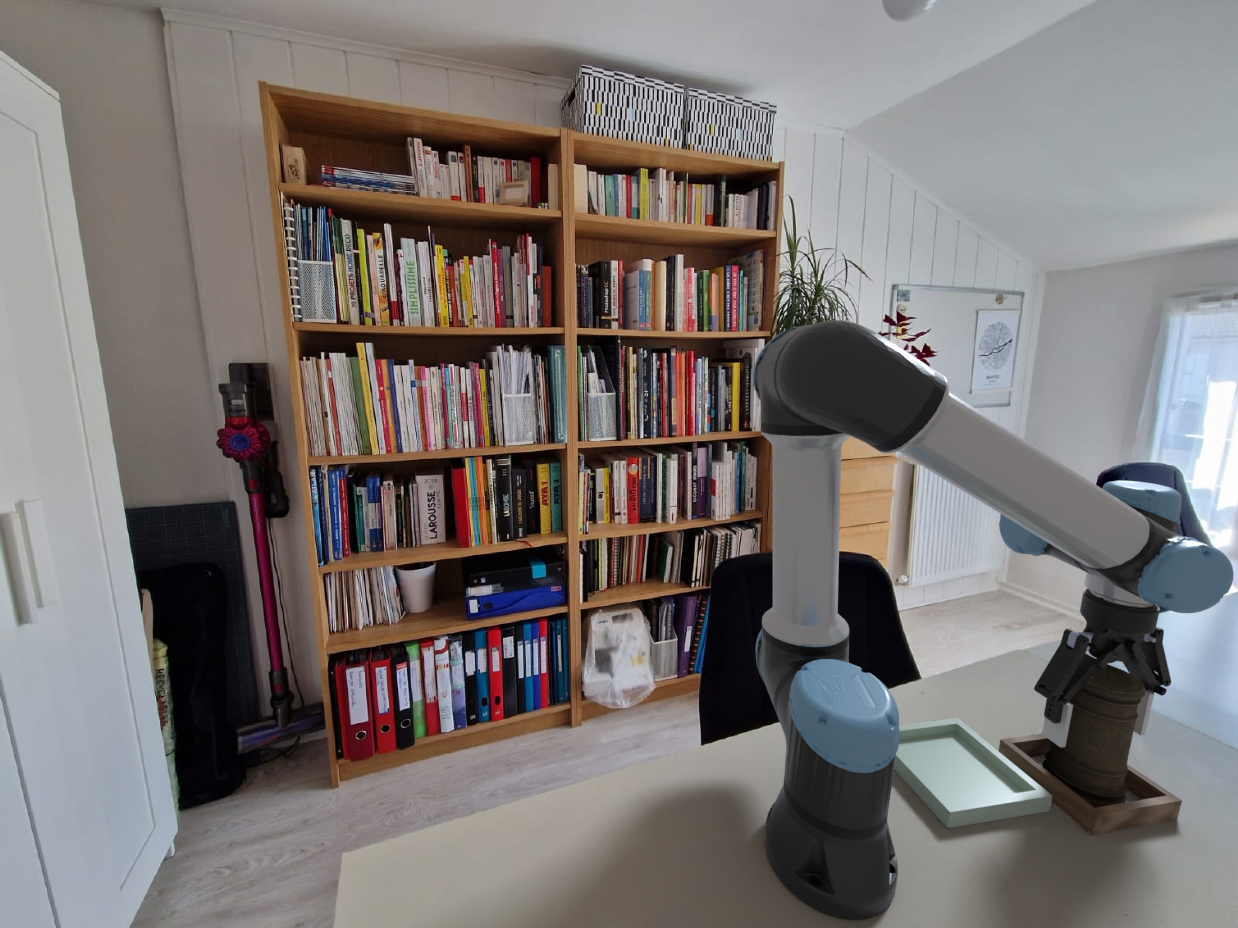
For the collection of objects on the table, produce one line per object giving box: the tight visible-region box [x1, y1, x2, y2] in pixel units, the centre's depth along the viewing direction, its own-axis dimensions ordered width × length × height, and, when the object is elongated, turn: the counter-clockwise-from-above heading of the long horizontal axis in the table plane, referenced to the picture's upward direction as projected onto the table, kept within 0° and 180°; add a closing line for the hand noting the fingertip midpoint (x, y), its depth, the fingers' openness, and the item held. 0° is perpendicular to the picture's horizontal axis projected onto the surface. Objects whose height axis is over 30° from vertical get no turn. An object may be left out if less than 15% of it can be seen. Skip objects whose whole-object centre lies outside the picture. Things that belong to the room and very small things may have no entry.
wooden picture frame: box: [998, 733, 1183, 836], centre depth 75 cm, size 14×14×3 cm
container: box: [1041, 663, 1145, 808], centre depth 74 cm, size 9×9×18 cm
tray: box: [894, 717, 1052, 829], centre depth 77 cm, size 16×16×2 cm
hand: (1093, 734), depth 74 cm, fingers open, 13 cm apart
